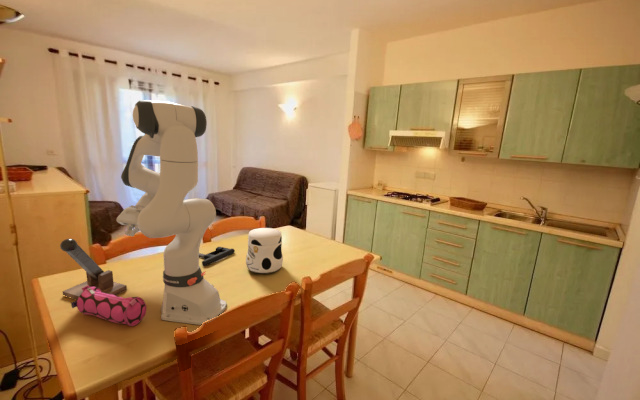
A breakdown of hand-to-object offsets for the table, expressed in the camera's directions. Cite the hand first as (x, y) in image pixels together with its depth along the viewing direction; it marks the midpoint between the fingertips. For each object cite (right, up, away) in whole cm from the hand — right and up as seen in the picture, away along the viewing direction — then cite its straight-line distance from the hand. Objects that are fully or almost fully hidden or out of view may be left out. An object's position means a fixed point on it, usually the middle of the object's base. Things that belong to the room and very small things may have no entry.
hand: (129, 235), depth 119 cm
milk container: (+52, -18, +19) cm, 59 cm away
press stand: (-6, -21, -10) cm, 24 cm away
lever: (-5, -16, -8) cm, 18 cm away
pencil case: (+10, -25, -23) cm, 36 cm away
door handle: (+24, -15, +29) cm, 40 cm away
